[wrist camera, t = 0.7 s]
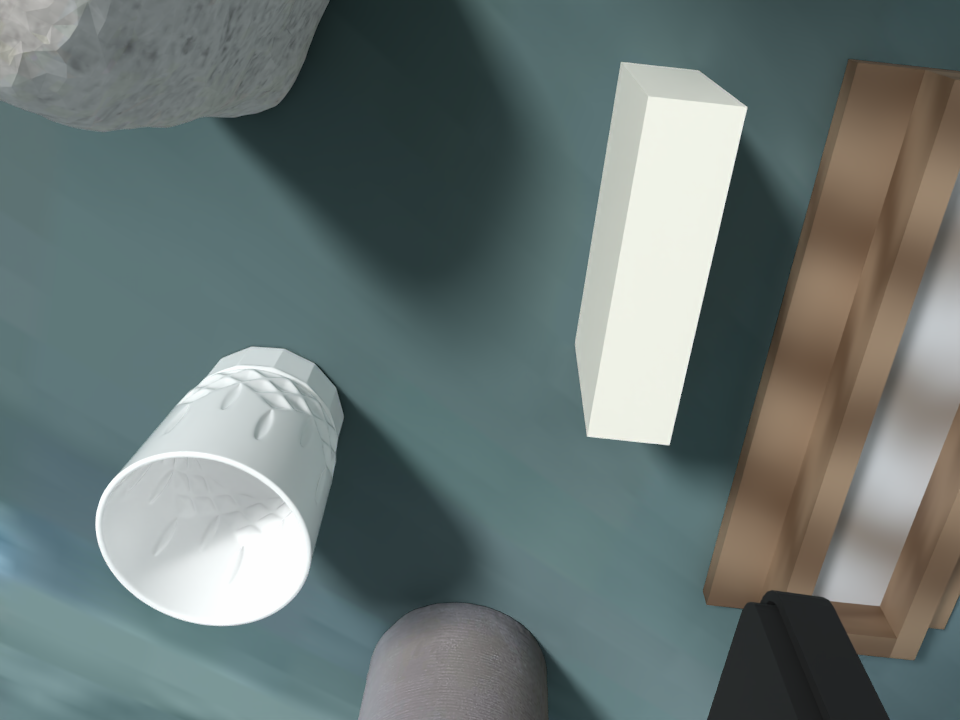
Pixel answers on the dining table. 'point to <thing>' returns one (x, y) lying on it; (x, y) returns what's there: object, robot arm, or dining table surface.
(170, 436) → the white cup
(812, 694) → the robot arm
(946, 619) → the track frame
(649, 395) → the white rectangular block
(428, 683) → the pillar candle
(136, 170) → the dining table surface
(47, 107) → the decorative stone
